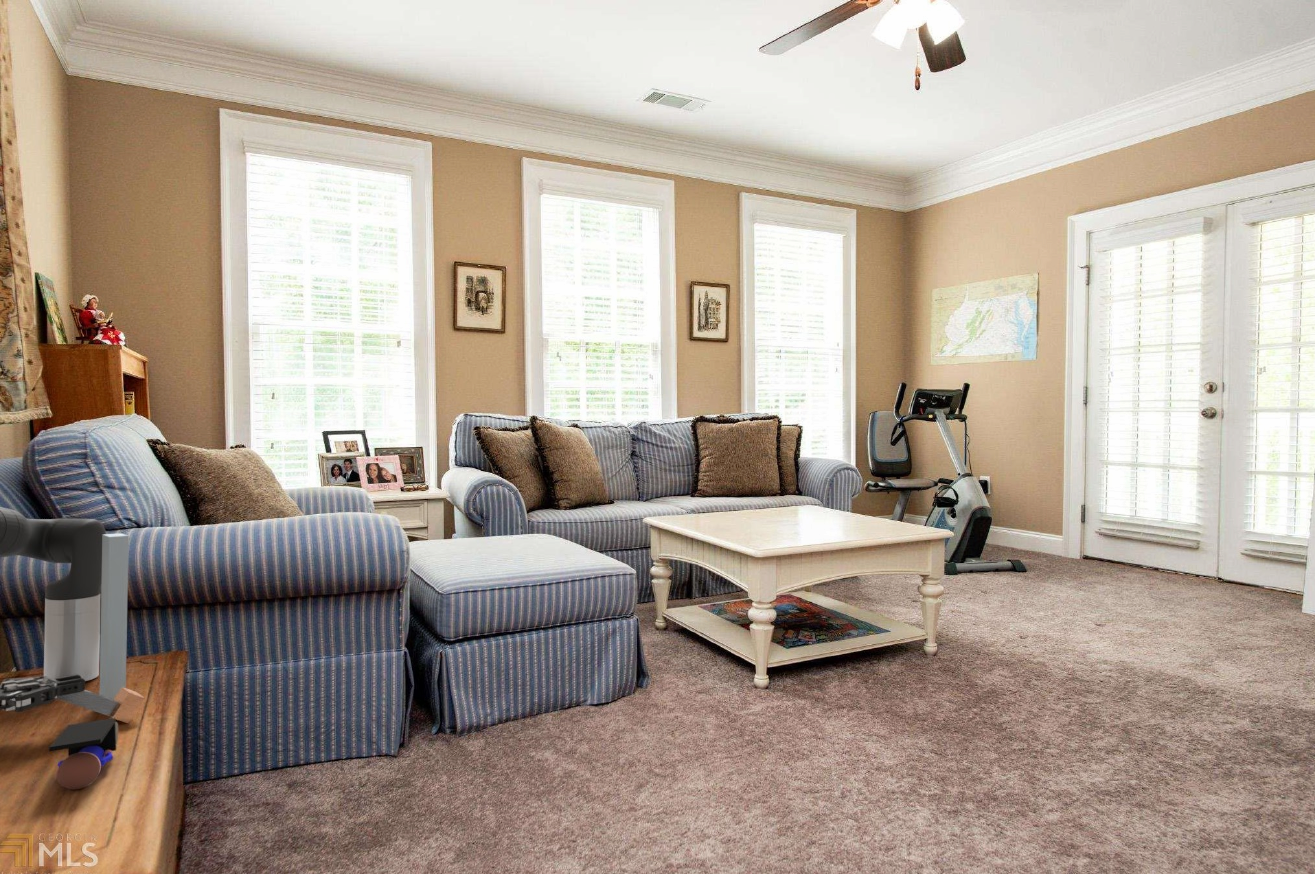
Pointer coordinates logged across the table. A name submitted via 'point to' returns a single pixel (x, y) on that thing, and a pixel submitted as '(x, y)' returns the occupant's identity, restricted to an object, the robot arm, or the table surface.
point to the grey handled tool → (104, 702)
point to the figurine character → (85, 751)
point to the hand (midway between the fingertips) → (81, 682)
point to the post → (113, 614)
